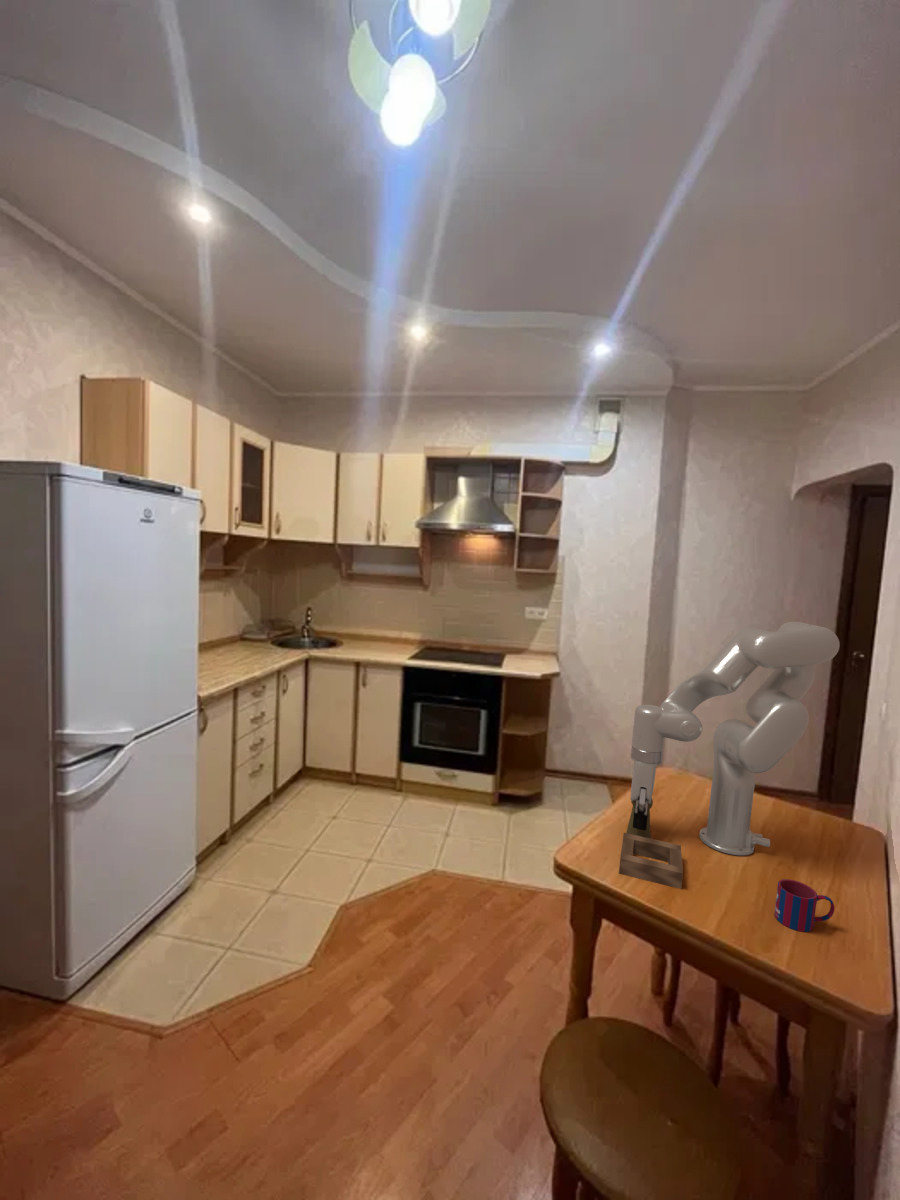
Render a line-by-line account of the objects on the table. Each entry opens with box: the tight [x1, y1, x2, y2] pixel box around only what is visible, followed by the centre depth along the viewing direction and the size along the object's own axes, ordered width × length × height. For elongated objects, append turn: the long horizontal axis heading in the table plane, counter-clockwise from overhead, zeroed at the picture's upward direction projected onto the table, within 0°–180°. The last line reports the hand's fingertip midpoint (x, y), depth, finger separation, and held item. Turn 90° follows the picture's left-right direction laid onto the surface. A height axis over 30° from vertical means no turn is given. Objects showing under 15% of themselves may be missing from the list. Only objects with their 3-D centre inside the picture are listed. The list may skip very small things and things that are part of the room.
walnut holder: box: [618, 832, 684, 889], centre depth 130 cm, size 13×13×4 cm
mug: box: [774, 878, 835, 933], centre depth 112 cm, size 7×10×7 cm
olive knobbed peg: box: [625, 798, 654, 839], centre depth 144 cm, size 6×6×11 cm
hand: (639, 821), depth 144 cm, fingers open, 7 cm apart
